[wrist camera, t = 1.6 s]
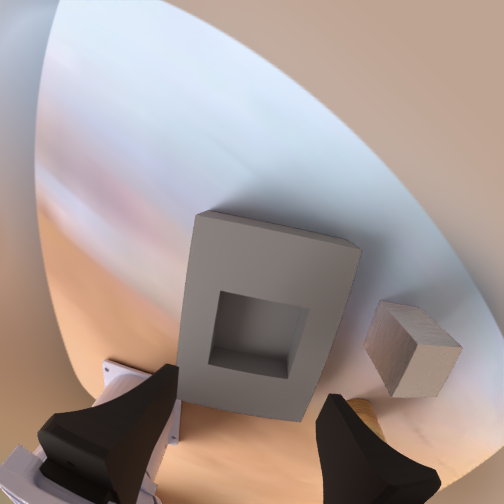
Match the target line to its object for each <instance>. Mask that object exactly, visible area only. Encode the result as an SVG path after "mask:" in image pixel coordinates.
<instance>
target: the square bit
mask: <svg viewBox="0 0 504 504" xmlns="http://www.w3.org/2000/svg"><path fill="white" fill-rule="evenodd" d="M363 345H364V347H365V349H366V351H367V353H368V355H369V356H370V358H371V360H372V362H373V364H374V365H375V367H376V369H377V371H378V373H379V375H380V377H381V378H382V380H383V382H384V384H385V386H386V388H387V390H388V392H389V394H390V396H391V397H392V398H415V397H437V396H438V394H439V392H440V390H441V389H442V387H443V385H444V383H445V382H446V380H447V378H448V376H449V374H450V372H451V370H452V369H453V367H454V365H455V363H456V361H457V359H458V357H459V355H460V353H461V350H462V348H463V347H462V346H461V345H460V344H459V343H458V342H457V341H455V340H454V339H453V338H452V337H451V336H450V335H449V334H448V333H447V332H446V331H445V330H444V329H443V328H441V327H440V326H439V325H438V324H437V323H436V322H435V321H434V320H433V319H431V318H430V317H429V316H428V315H427V314H426V313H425V312H424V311H422V310H421V309H420V308H419V307H414V306H408V305H402V304H396V303H390V302H385V301H379V303H378V306H377V309H376V312H375V315H374V317H373V320H372V323H371V326H370V328H369V331H368V334H367V336H366V339H365V341H364V344H363Z"/></svg>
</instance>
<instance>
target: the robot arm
mask: <svg viewBox="0 0 504 504" xmlns="http://www.w3.org/2000/svg"><path fill="white" fill-rule="evenodd" d="M102 366H103V376H104V385H105V389H104V391H103V392H102V393H101V395H100V396H99V397H98V399H97V400H96V401H95V403H94V404H93V405H92V407H91V408H87V409H83V410H79V411H73V412H65V413H55V414H54V415H53V416H51V417H50V418H49V420H48V421H47V422H46V423H45V424H44V425H43V427H42V428H41V429H40V430H39V431H38V435H37V436H38V439H39V442H40V445H39V446H38V448H37V449H36V450H35V451H34V452H33V453H32V452H30V451H29V450H27V449H25V448H24V447H23V446H21V445H19V444H18V445H17V446H16V448H15V449H14V450H13V451H12V452H11V454H10V455H9V456H8V457H7V459H6V460H5V461H4V462H3V464H2V465H1V466H0V488H1V489H2V490H3V491H4V492H5V493H6V494H7V496H8V497H9V498H10V499H11V500H12V501H13V502H14V504H162V502H161V500H160V499H159V498H158V497H157V496H155V492H156V489H157V486H158V485H157V484H155V483H154V482H153V481H154V480H155V477H156V475H157V472H158V469H159V467H160V464H161V461H162V459H163V456H164V453H165V451H166V448H167V445H168V444H171V445H178V442H179V428H180V414H181V402H182V401H181V400H178V399H176V398H177V388H178V376H179V367H178V366H174V365H171V364H165V365H164V366H163V367H161V368H160V369H159V370H158V371H157V372H155V373H154V374H153V375H151V374H148V373H145V372H142V371H139V370H136V369H133V368H130V367H127V366H124V365H121V364H118V363H115V362H113V361H110V360H107V359H106V360H104V361H103V362H102ZM107 368H108V369H107ZM316 441H317V447H318V452H319V458H320V463H321V469H322V476H323V504H424V503H425V502H426V501H427V500H428V499H429V498H431V497H432V496H433V495H434V494H435V493H436V492H437V491H438V490H439V488H440V486H441V480H440V478H439V476H438V474H437V472H436V470H435V469H432V468H429V467H427V466H424V465H422V464H419V463H417V462H415V461H413V460H411V459H409V458H408V457H406V456H404V455H402V454H401V453H399V452H398V451H396V450H395V449H393V448H392V447H390V446H389V445H388V444H387V443H385V442H384V441H383V440H382V439H380V438H379V437H378V436H377V435H376V434H375V433H374V432H373V431H372V430H371V429H370V428H369V427H368V426H367V425H366V424H365V423H364V422H363V421H362V419H361V418H360V417H359V416H358V415H357V414H356V412H355V411H354V410H353V409H352V408H351V406H350V405H349V404H348V403H347V402H346V400H345V399H344V398H343V397H342V396H341V394H329V395H328V397H327V399H326V401H325V403H324V405H323V408H322V410H321V412H320V414H319V416H318V418H317V420H316Z"/></svg>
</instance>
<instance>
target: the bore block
mask: <svg viewBox="0 0 504 504" xmlns="http://www.w3.org/2000/svg"><path fill="white" fill-rule="evenodd" d="M361 252H362V250H361V249H360V248H358V247H357V246H355V245H354V244H352V243H351V242H349V241H348V240H346V239H341V238H337V237H333V236H328V235H324V234H319V233H315V232H310V231H306V230H301V229H297V228H292V227H287V226H283V225H278V224H273V223H268V222H264V221H259V220H254V219H249V218H244V217H239V216H234V215H229V214H224V213H219V212H214V211H208V210H207V211H205V212H202V213H200V214H197V215H196V216H195V222H194V228H193V234H192V241H191V247H190V254H189V261H188V268H187V275H186V282H185V290H184V298H183V306H182V314H181V323H180V333H179V343H178V353H177V364H176V366H178V367H179V376H178V388H177V398H176V399H178V400H181V401H185V402H189V403H193V404H197V405H201V406H205V407H210V408H214V409H219V410H224V411H229V412H234V413H239V414H245V415H250V416H257V417H263V418H270V419H277V420H286V421H294V422H301V421H302V418H303V416H304V414H305V412H306V409H307V407H308V405H309V403H310V400H311V398H312V396H313V393H314V391H315V388H316V386H317V384H318V381H319V379H320V376H321V374H322V371H323V369H324V366H325V363H326V361H327V358H328V355H329V353H330V350H331V347H332V345H333V342H334V339H335V336H336V333H337V331H338V328H339V325H340V322H341V319H342V316H343V313H344V310H345V307H346V304H347V300H348V297H349V294H350V291H351V287H352V284H353V281H354V277H355V274H356V270H357V267H358V263H359V260H360V256H361Z"/></svg>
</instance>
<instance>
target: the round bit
mask: <svg viewBox="0 0 504 504" xmlns="http://www.w3.org/2000/svg"><path fill="white" fill-rule="evenodd" d="M346 402H347V403H348V404H349V405H350V406H351V408H352V409H353V410H354V411H355V412H356V414H357V415H358V416H359V417H360V418H361V419H362V421H363V422H364V423H365V424H366V425H367V426H368V427H369V428H370V429H371V430H372V431H373V432H374V433H375V434H376V435H377V436H378V437H379V438H380V439H382V440H383V441H384V442H385V443H387V442H386V440H385V437H384V435H383V432H382V430H381V427H380V425H379V422H378V420H377V417H376V415H375V413H374V410H373V408H372V405H371V404H370V402H368V401H367V400H364V399H351V400H347V401H346Z"/></svg>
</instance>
